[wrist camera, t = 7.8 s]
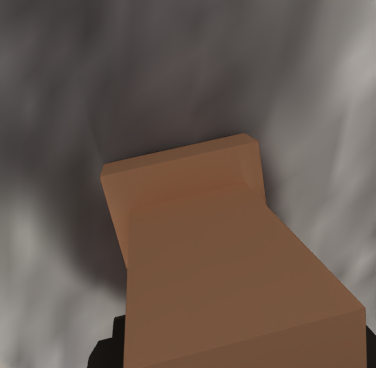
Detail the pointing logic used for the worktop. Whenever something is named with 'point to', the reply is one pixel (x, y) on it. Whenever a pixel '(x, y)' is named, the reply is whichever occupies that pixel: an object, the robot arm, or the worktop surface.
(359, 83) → the worktop surface
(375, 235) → the worktop surface
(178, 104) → the worktop surface
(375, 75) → the worktop surface
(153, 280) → the stub
